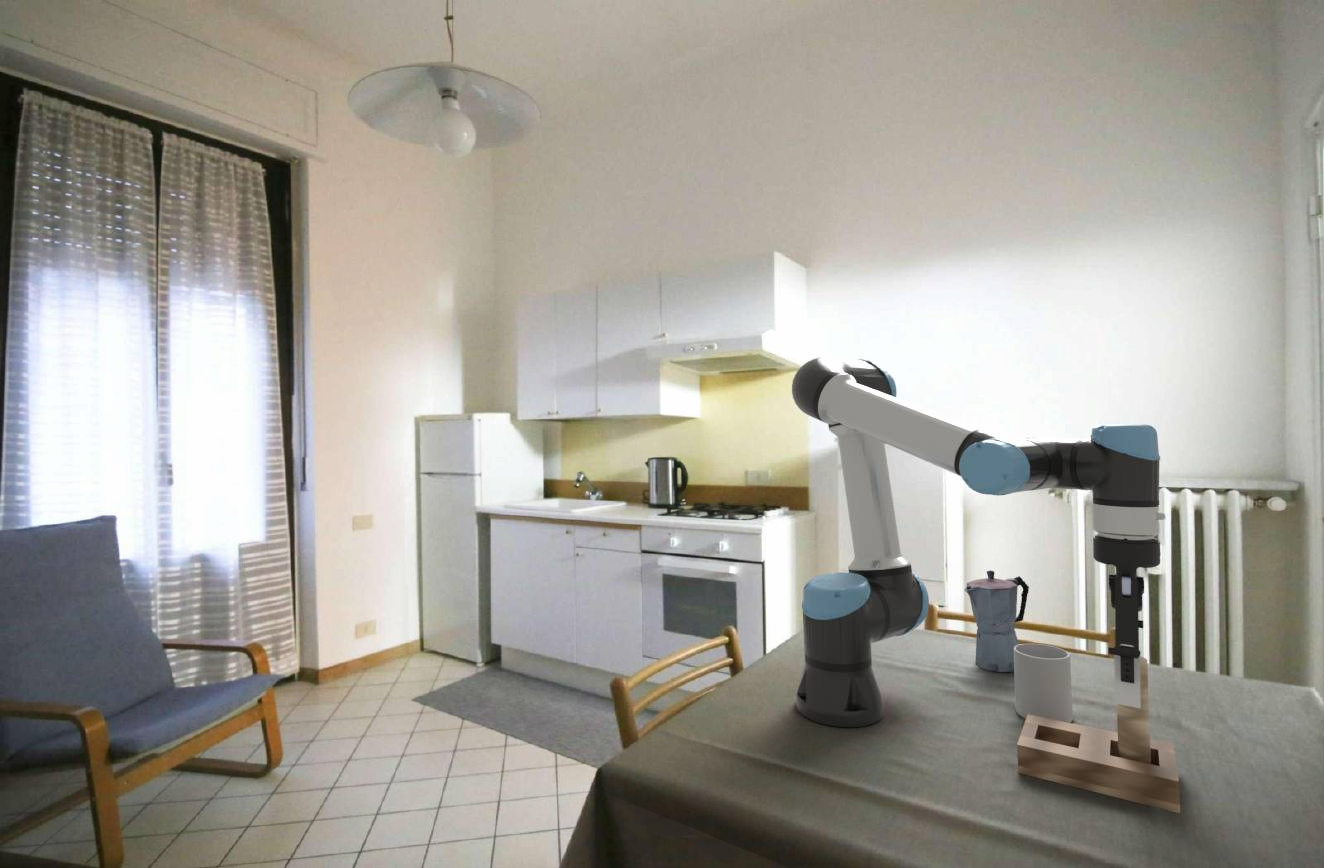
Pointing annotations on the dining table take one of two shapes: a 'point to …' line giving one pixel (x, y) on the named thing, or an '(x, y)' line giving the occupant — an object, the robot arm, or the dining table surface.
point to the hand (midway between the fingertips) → (1127, 687)
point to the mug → (1043, 682)
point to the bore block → (1097, 762)
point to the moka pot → (996, 620)
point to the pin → (1135, 724)
